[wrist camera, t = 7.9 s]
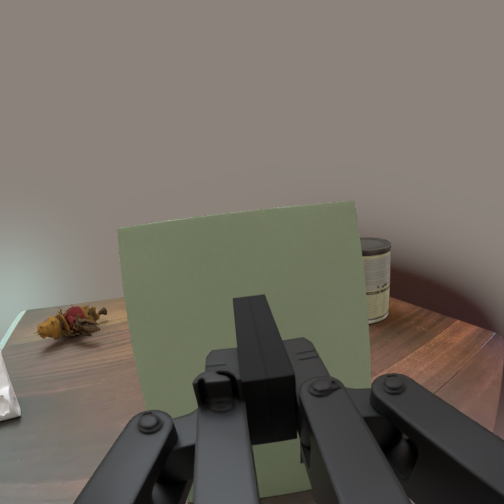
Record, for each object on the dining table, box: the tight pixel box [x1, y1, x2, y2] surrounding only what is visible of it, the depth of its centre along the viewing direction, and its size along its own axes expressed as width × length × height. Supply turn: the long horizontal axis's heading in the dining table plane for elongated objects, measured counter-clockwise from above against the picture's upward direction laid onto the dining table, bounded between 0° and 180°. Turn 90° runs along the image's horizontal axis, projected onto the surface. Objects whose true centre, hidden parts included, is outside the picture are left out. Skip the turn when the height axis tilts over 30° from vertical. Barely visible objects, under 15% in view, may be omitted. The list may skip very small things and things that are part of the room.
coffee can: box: [360, 238, 391, 324], centre depth 57 cm, size 10×10×14 cm
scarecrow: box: [34, 304, 107, 342], centre depth 57 cm, size 17×16×8 cm
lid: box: [117, 201, 371, 419], centre depth 20 cm, size 15×16×1 cm
